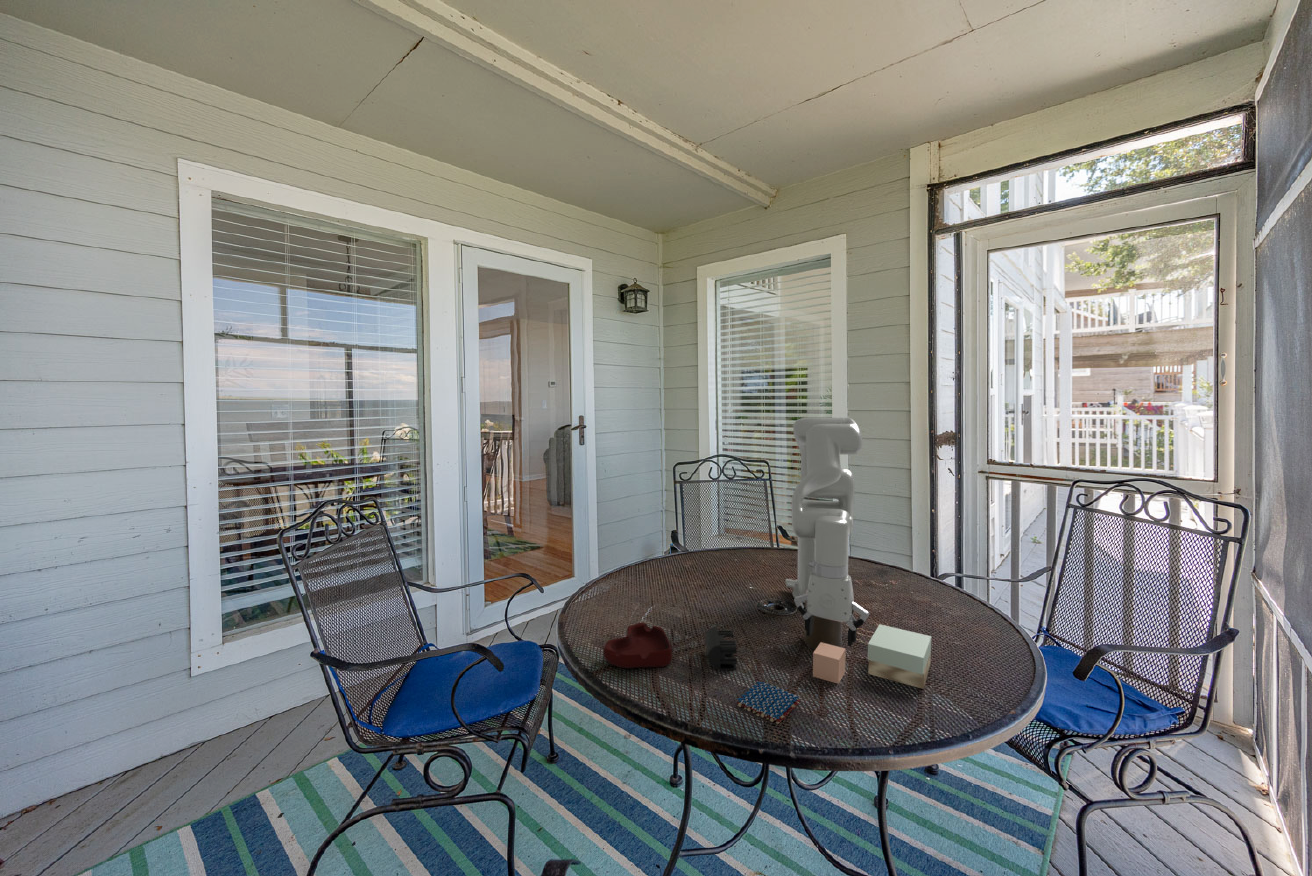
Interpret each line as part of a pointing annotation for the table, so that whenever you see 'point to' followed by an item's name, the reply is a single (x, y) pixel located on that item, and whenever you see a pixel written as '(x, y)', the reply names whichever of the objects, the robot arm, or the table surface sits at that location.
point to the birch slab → (899, 673)
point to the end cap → (721, 649)
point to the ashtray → (639, 648)
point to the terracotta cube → (829, 662)
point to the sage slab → (900, 648)
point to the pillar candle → (823, 632)
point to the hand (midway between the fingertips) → (829, 638)
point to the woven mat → (769, 702)
